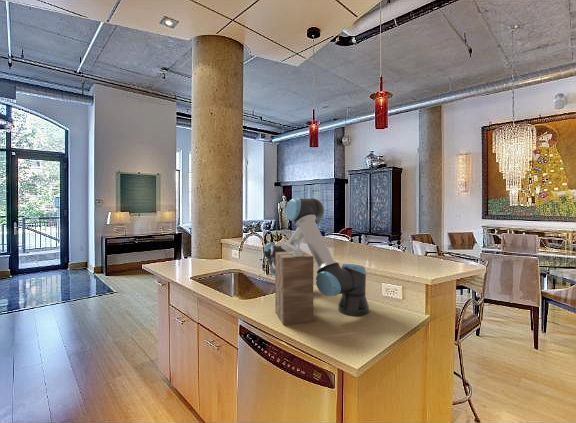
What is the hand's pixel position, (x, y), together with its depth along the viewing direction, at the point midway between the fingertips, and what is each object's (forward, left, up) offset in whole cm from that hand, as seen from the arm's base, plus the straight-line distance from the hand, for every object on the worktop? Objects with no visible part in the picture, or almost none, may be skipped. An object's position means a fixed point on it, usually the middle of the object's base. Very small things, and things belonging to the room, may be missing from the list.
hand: (285, 246), depth 164 cm
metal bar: (-6, +8, -1) cm, 10 cm away
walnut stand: (-9, +12, -31) cm, 35 cm away
